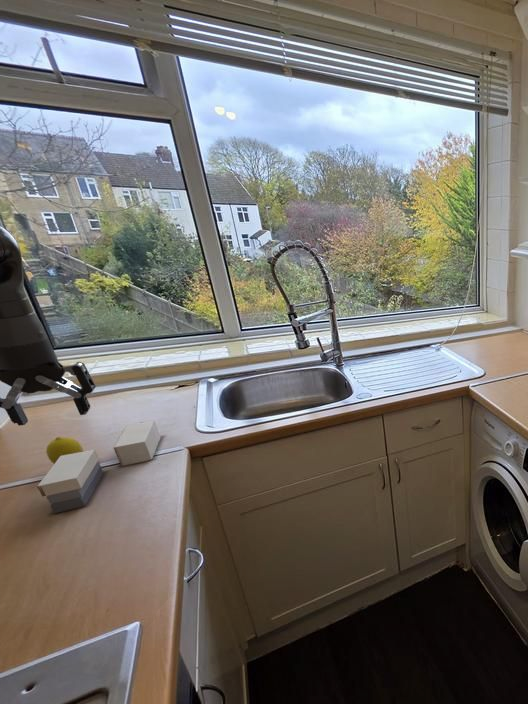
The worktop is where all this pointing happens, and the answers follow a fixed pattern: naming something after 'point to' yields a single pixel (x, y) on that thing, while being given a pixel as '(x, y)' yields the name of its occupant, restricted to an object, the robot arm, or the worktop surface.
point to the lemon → (62, 448)
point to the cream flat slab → (68, 473)
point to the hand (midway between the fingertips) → (54, 418)
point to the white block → (137, 443)
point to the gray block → (76, 493)
